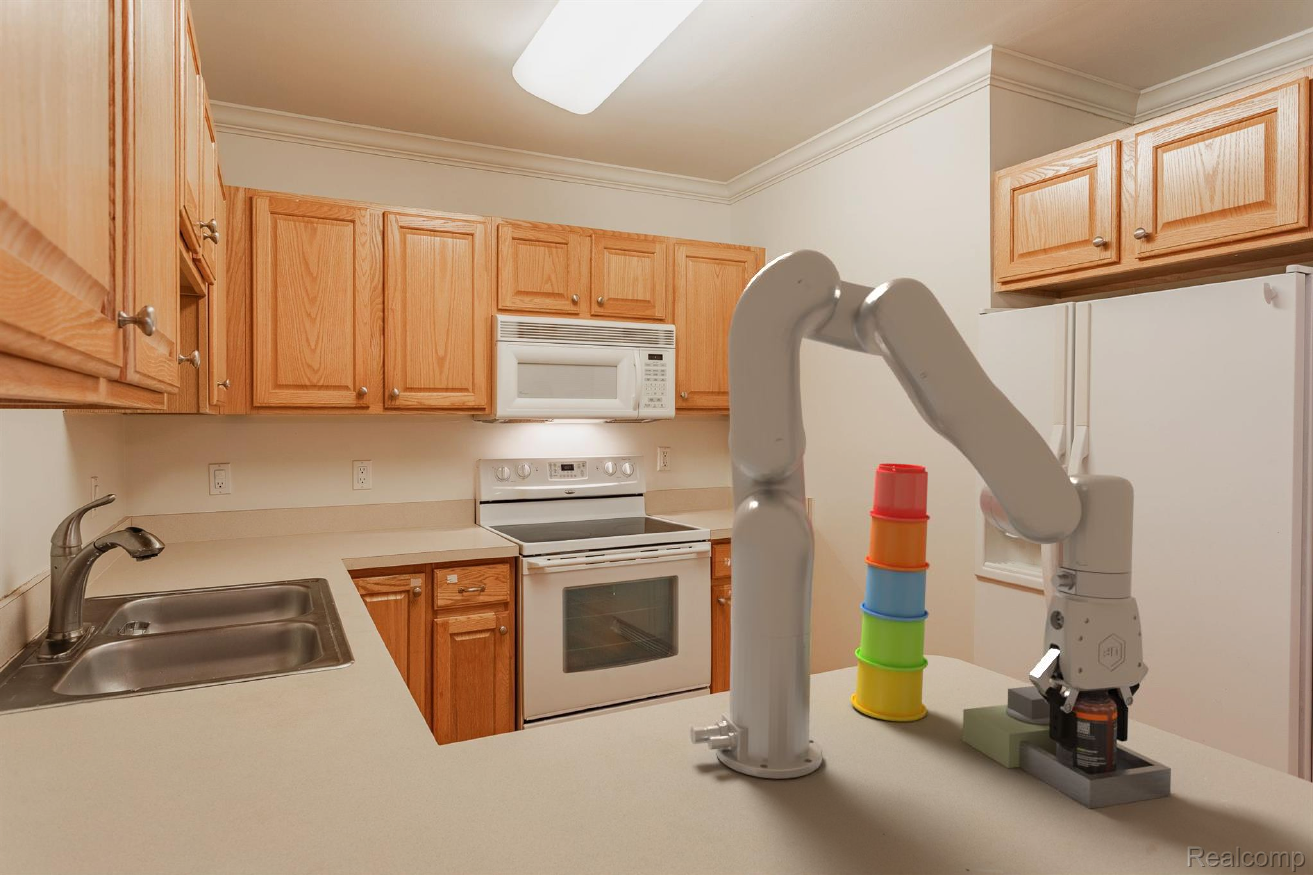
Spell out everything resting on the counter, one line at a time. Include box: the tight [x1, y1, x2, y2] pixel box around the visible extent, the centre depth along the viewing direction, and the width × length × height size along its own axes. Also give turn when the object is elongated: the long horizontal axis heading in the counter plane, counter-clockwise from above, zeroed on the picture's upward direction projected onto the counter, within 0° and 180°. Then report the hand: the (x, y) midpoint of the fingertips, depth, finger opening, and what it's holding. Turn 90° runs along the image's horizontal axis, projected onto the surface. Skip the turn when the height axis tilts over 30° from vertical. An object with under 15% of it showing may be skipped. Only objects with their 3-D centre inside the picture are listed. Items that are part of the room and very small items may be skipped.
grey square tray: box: [1018, 741, 1172, 810], centre depth 85 cm, size 11×10×3 cm
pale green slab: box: [962, 685, 1057, 769], centre depth 94 cm, size 14×8×7 cm, turn 106°
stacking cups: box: [850, 462, 931, 723], centre depth 106 cm, size 10×10×35 cm
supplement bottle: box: [1057, 689, 1118, 775], centre depth 86 cm, size 6×6×11 cm
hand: (1088, 738), depth 86 cm, fingers open, 6 cm apart
